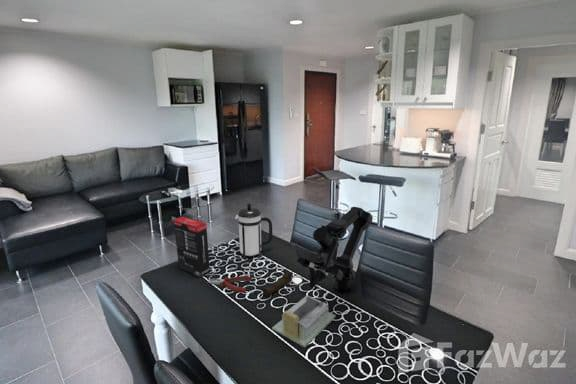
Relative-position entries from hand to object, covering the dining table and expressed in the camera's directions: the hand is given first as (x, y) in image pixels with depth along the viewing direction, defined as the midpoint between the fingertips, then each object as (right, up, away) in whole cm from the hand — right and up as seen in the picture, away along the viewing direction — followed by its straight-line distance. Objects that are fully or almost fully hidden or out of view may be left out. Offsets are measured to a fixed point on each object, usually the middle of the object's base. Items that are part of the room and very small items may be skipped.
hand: (310, 288), depth 121 cm
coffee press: (-29, +2, +59) cm, 65 cm away
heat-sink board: (-2, -14, +1) cm, 14 cm away
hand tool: (-13, -8, +25) cm, 30 cm away
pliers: (-35, -7, +29) cm, 46 cm away
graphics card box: (-56, -4, +40) cm, 69 cm away
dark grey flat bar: (-2, -8, -1) cm, 9 cm away
